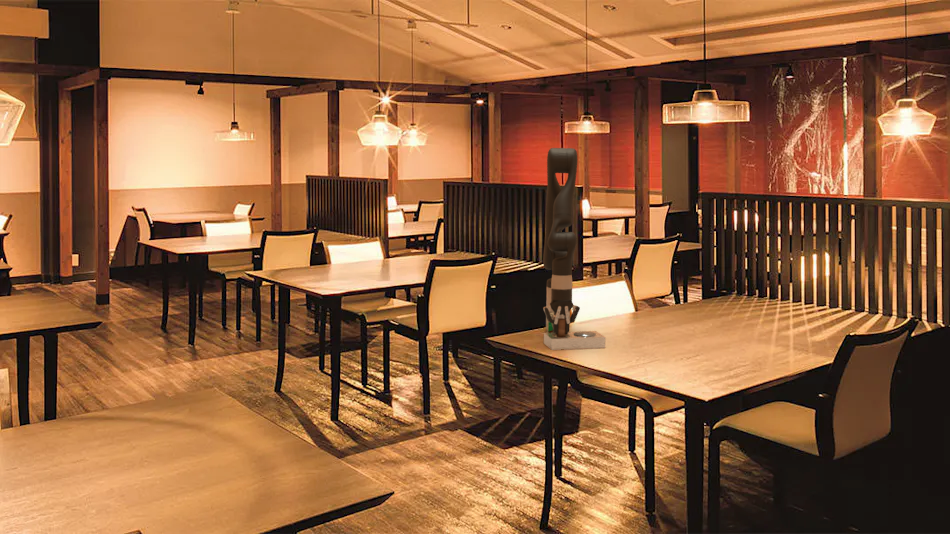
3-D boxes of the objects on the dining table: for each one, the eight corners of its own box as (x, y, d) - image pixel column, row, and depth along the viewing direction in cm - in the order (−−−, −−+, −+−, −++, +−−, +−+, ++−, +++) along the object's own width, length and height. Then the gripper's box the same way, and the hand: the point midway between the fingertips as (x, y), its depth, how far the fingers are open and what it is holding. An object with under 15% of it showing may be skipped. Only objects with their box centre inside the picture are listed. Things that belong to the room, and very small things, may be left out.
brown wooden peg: (552, 344, 317) (552, 318, 315) (565, 344, 318) (566, 317, 316) (556, 347, 312) (556, 320, 311) (569, 347, 313) (569, 320, 311)
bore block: (543, 343, 319) (543, 332, 319) (595, 341, 323) (595, 330, 322) (551, 349, 308) (551, 338, 308) (605, 347, 312) (605, 336, 312)
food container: (564, 343, 319) (565, 316, 318) (548, 343, 320) (548, 316, 318) (562, 336, 332) (562, 310, 330) (546, 336, 332) (546, 310, 331)
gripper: (577, 285, 317) (576, 331, 319) (540, 285, 314) (539, 332, 317) (583, 288, 310) (582, 335, 312) (545, 289, 307) (544, 336, 309)
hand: (561, 333), depth 314 cm, fingers closed on brown wooden peg, 3 cm apart
